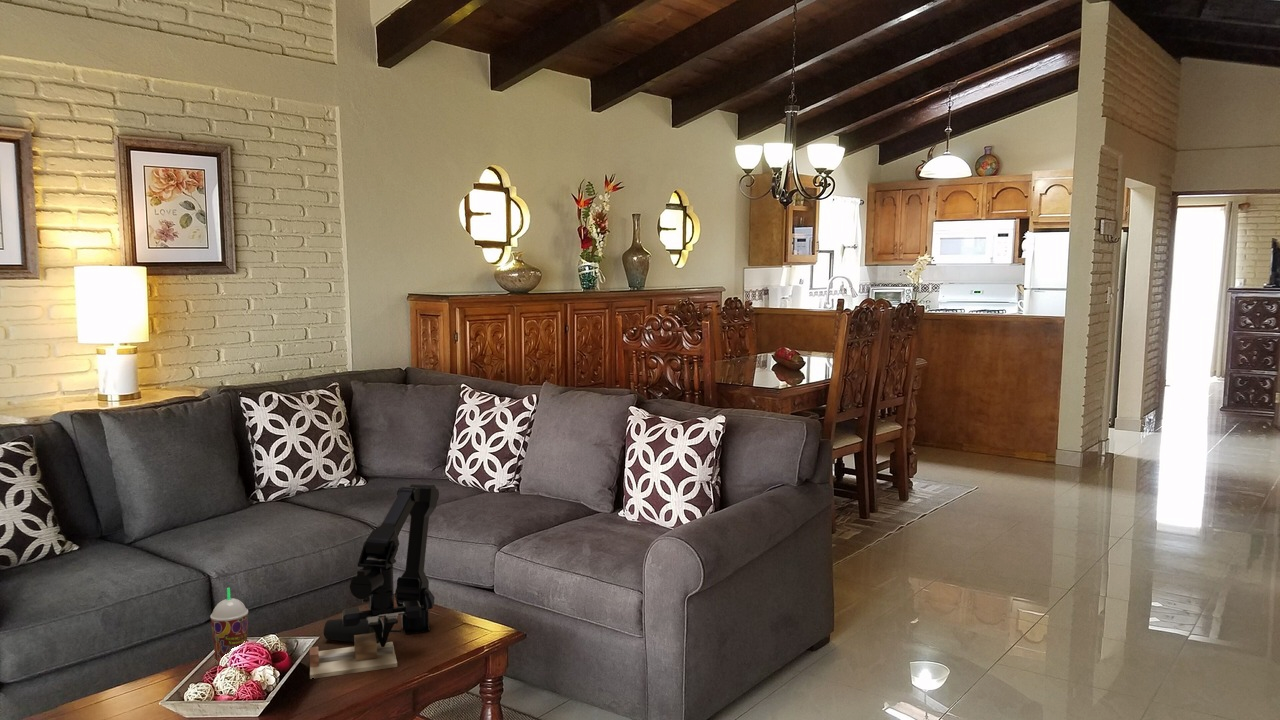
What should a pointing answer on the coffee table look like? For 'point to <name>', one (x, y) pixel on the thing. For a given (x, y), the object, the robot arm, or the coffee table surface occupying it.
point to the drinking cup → (349, 630)
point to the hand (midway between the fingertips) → (382, 646)
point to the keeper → (365, 646)
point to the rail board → (349, 661)
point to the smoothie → (228, 625)
